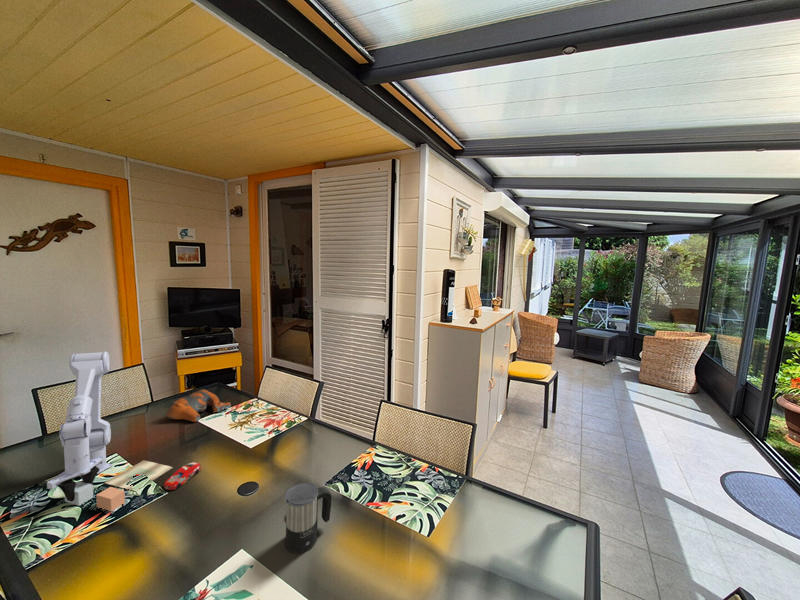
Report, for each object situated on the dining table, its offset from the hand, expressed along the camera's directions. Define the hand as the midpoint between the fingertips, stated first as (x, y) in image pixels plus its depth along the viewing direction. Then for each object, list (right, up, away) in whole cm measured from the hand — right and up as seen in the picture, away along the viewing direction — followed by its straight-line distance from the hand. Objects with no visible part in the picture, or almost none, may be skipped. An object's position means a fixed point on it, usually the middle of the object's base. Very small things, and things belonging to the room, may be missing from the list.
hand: (79, 495), depth 106 cm
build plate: (+9, -1, +13) cm, 16 cm away
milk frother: (+74, -7, -7) cm, 75 cm away
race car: (+25, -2, +13) cm, 28 cm away
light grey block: (0, -1, 0) cm, 1 cm away
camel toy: (+2, +4, +62) cm, 62 cm away
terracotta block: (+12, -2, -2) cm, 12 cm away
